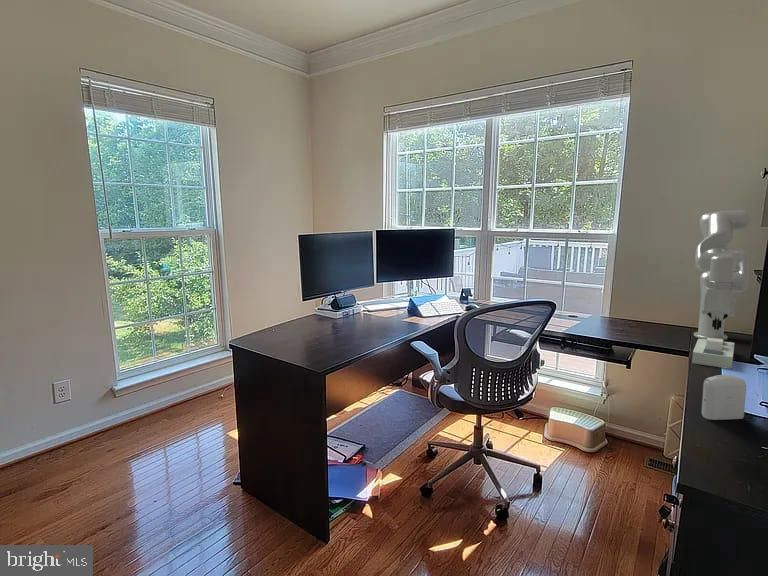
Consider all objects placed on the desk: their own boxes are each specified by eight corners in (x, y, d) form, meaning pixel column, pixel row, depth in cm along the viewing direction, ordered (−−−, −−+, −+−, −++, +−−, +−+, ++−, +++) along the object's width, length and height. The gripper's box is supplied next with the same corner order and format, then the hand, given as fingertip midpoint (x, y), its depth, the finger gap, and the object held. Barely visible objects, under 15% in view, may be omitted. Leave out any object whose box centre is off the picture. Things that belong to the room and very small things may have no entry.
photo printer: (709, 421, 117) (712, 378, 115) (698, 414, 121) (701, 373, 119) (746, 420, 117) (750, 377, 115) (734, 413, 121) (737, 372, 119)
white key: (706, 346, 172) (707, 337, 172) (722, 348, 169) (723, 339, 169) (705, 349, 169) (706, 340, 168) (721, 351, 165) (722, 342, 165)
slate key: (704, 355, 167) (705, 345, 166) (721, 357, 163) (721, 347, 163) (703, 358, 163) (704, 348, 162) (720, 360, 160) (721, 350, 159)
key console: (697, 348, 182) (698, 338, 182) (733, 353, 175) (734, 342, 174) (692, 363, 164) (692, 351, 164) (731, 369, 157) (732, 357, 156)
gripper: (744, 285, 170) (740, 329, 173) (698, 282, 179) (695, 324, 182) (744, 288, 164) (739, 333, 167) (696, 285, 174) (693, 328, 177)
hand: (716, 328), depth 175 cm, fingers closed
